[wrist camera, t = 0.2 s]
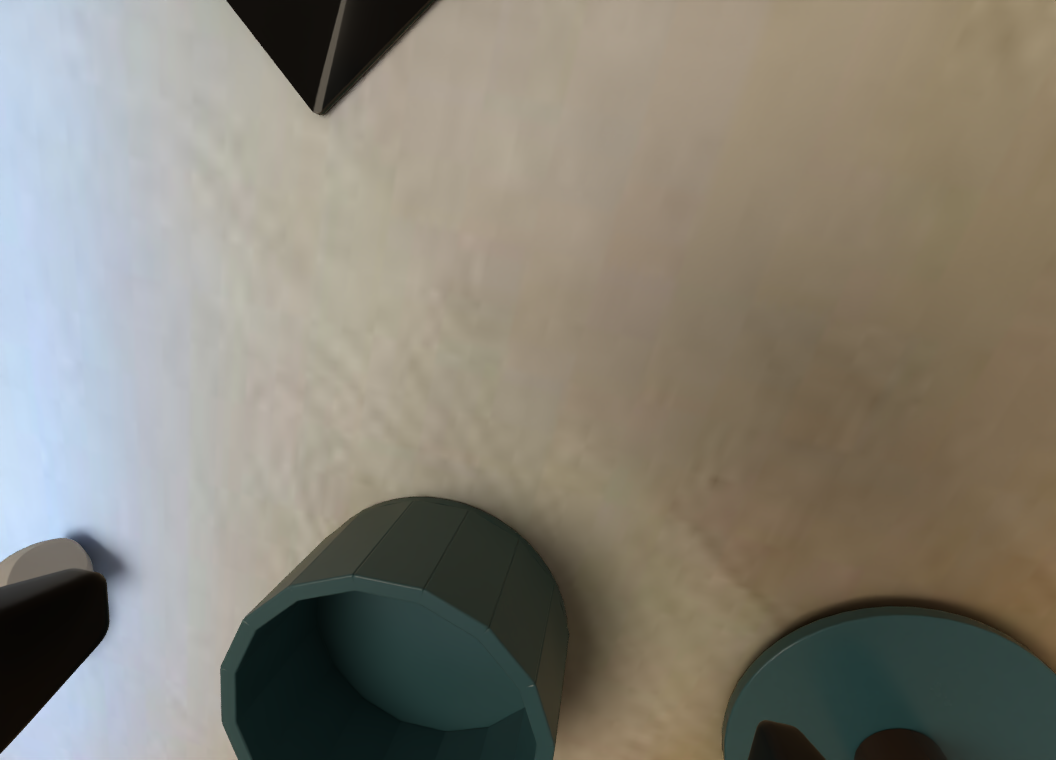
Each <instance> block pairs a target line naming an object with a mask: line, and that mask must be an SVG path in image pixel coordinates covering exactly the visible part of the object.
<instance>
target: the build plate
mask: <svg viewBox="0 0 1056 760" xmlns="http://www.w3.org/2000/svg"><path fill="white" fill-rule="evenodd" d="M227 2H228V3H229V4H230V6H231V7H232V8H233V9H234V11H235V12H236V13H237V15H238V16H239V17H240V19H241V20H242V21H243V22H244V24H245V25H246V26H247V28H248V29H249V30H250V31H251V33H252V34H253V35H254V37H255V38H256V39H257V40H258V42H259V43H260V44H261V46H262V47H263V48H264V50H265V51H266V52H267V53H268V55H269V56H270V57H271V59H272V60H273V61H274V62H275V64H276V65H277V66H278V68H279V69H280V70H281V71H282V73H283V74H284V75H285V77H286V78H287V79H288V81H289V82H290V83H291V84H292V86H293V87H294V88H295V90H296V91H297V92H298V93H299V95H300V96H301V97H302V99H303V100H304V101H305V102H306V104H307V105H308V106H309V108H310V109H311V110H312V111H313V112H314V113H316V114H319V115H324V114H325V113H326V112H327V111H328V110H329V109H330V108H331V107H332V106H333V105H334V104H335V103H336V102H337V101H338V100H339V99H340V98H341V97H342V96H343V95H344V94H345V93H346V92H347V91H348V90H349V89H350V88H351V87H352V86H353V85H354V84H355V83H356V82H357V81H358V80H359V79H360V77H361V76H362V75H363V74H364V73H365V72H366V71H367V70H368V69H369V68H370V67H371V66H372V65H373V64H374V63H375V62H376V61H377V60H378V59H379V58H380V57H381V56H382V55H383V54H384V53H385V52H386V51H387V50H388V49H389V48H390V47H391V46H392V45H393V44H394V43H395V42H396V41H397V39H398V38H399V37H400V36H401V35H402V34H403V33H404V32H405V31H406V30H407V29H408V28H409V27H410V26H411V25H412V24H413V23H414V22H415V21H416V20H417V19H418V18H419V17H420V16H421V15H422V14H423V13H424V12H425V11H426V10H427V9H428V8H429V7H430V6H431V5H432V4H433V3H434V2H435V0H227Z"/></svg>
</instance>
